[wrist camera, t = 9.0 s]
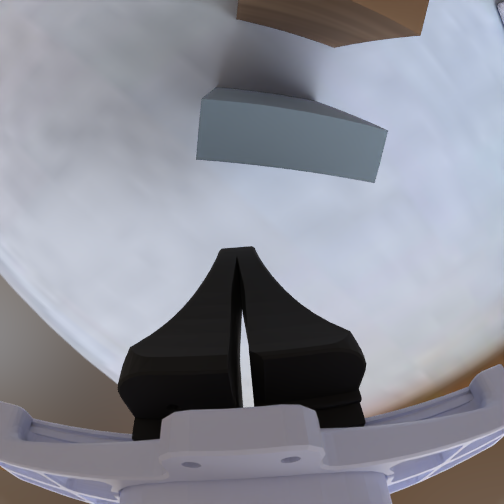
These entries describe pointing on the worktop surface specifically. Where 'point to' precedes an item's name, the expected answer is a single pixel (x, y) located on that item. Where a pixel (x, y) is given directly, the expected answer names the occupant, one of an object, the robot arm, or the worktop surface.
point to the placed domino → (287, 134)
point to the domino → (338, 18)
